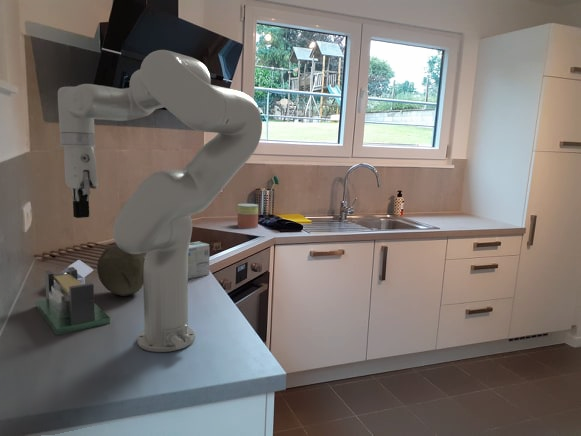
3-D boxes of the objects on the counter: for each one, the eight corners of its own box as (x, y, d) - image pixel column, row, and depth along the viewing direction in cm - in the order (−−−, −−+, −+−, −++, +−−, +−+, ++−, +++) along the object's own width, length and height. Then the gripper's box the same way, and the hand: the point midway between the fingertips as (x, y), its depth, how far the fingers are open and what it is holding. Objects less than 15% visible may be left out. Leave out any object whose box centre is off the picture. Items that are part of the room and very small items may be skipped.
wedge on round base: (65, 279, 143) (46, 293, 130) (64, 259, 141) (45, 270, 129) (94, 280, 143) (78, 293, 131) (93, 259, 142) (77, 271, 129)
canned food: (262, 227, 244) (262, 205, 242) (247, 229, 236) (247, 207, 234) (248, 224, 252) (248, 203, 250) (232, 226, 243) (233, 204, 241)
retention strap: (89, 296, 108) (89, 289, 108) (71, 299, 105) (71, 293, 105) (68, 276, 122) (68, 271, 122) (52, 279, 120) (52, 273, 119)
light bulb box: (199, 270, 158) (199, 240, 156) (210, 274, 153) (210, 244, 152) (172, 275, 151) (172, 244, 149) (182, 280, 146) (182, 248, 144)
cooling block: (110, 323, 110) (108, 282, 109) (56, 335, 103) (54, 291, 101) (83, 298, 127) (82, 262, 125) (36, 306, 119) (34, 268, 117)
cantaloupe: (157, 289, 136) (156, 241, 134) (132, 305, 123) (131, 252, 120) (115, 284, 139) (113, 237, 137) (86, 300, 125) (84, 247, 123)
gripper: (105, 141, 103) (108, 220, 106) (84, 141, 114) (87, 212, 117) (70, 140, 98) (74, 222, 101) (51, 140, 109) (56, 214, 112)
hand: (81, 216), depth 109 cm, fingers closed
